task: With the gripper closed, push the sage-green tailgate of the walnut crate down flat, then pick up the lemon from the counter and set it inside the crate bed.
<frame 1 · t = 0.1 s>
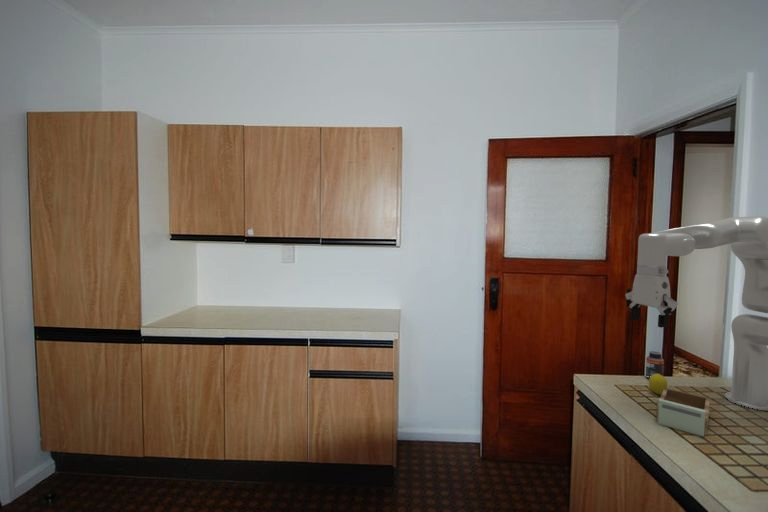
hand: (648, 323, 119), 31 cm above the counter, fingers open, 9 cm apart
crate: (683, 419, 118), on the counter
tailgate: (680, 417, 110), point 5 cm above the counter, hinge at 8.0°
lemon: (657, 394, 136), on the counter
supplement bottle: (654, 379, 150), on the counter
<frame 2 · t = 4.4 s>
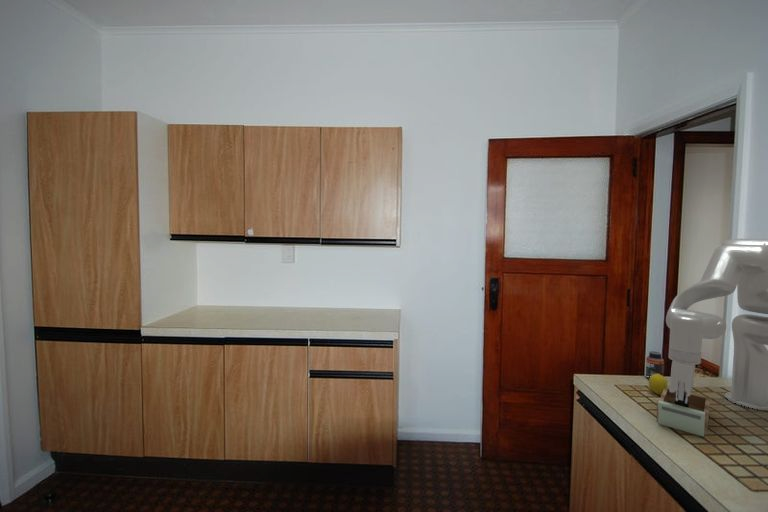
hand: (681, 413, 111), 5 cm above the counter, fingers closed
tailgate: (680, 418, 110), point 5 cm above the counter, hinge at 16.3°, touching gripper
everything else where it was.
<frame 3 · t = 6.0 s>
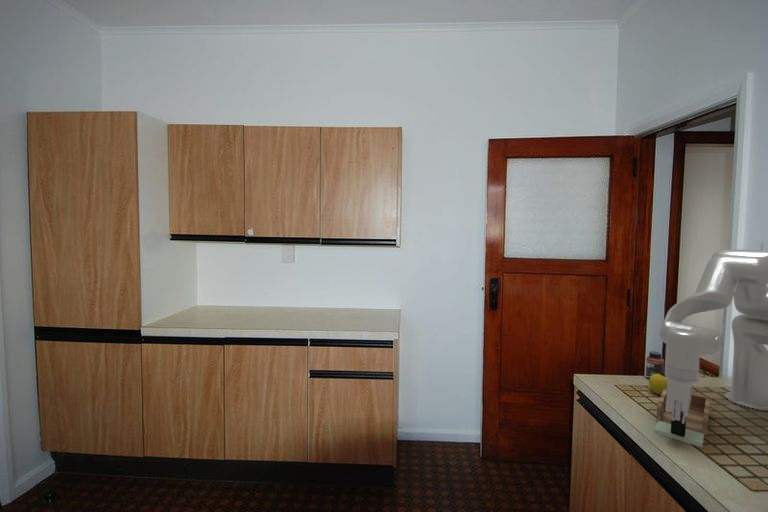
hand: (677, 434, 105), 2 cm above the counter, fingers closed
tailgate: (679, 433, 108), point 1 cm above the counter, hinge at 86.6°
everything else where it was.
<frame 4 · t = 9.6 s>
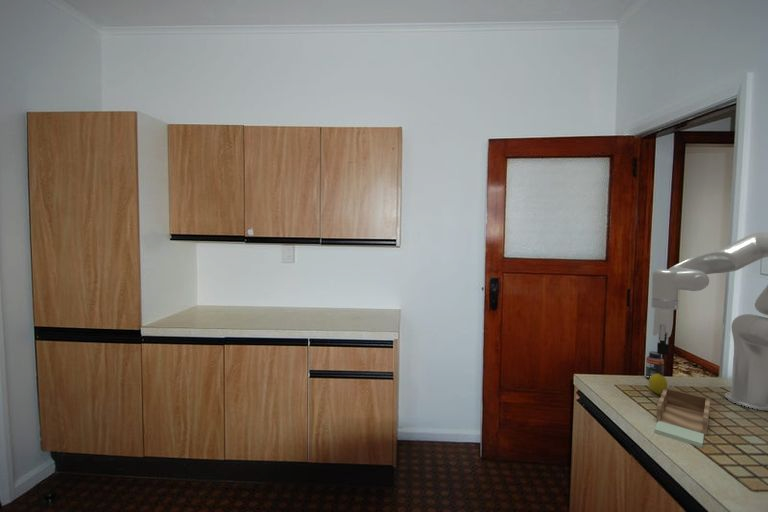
hand: (662, 353, 131), 17 cm above the counter, fingers closed
nothing on the counter moved.
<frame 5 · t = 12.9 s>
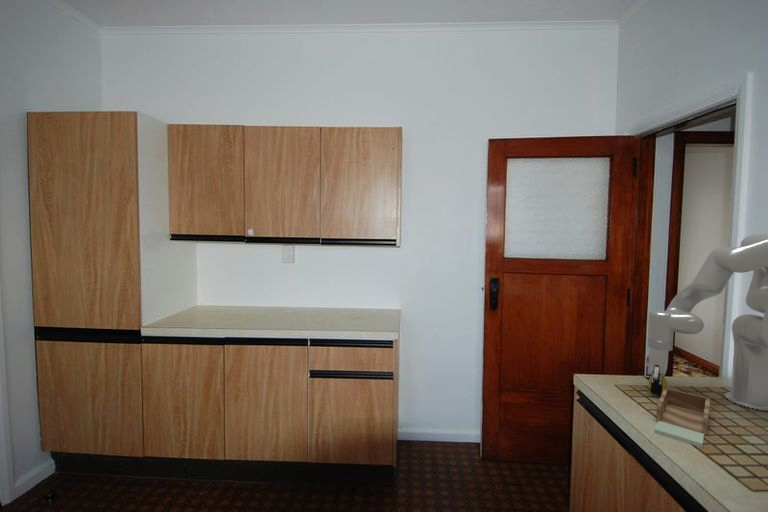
hand: (657, 390, 136), 1 cm above the counter, fingers closed on lemon, 5 cm apart
lemon: (657, 394, 136), on the counter, touching gripper
everything else where it was.
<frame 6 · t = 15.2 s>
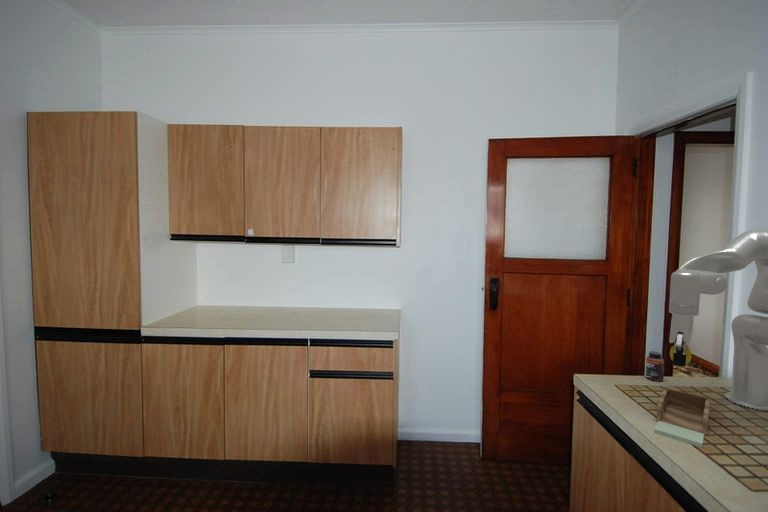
hand: (680, 362, 120), 18 cm above the counter, fingers closed on lemon, 5 cm apart
lemon: (679, 367, 120), point 16 cm above the counter, touching gripper
everything else where it was.
when the fingers open (4 cm above the counter, at t = 17.9 s): lemon drops 2 cm, resting on crate.
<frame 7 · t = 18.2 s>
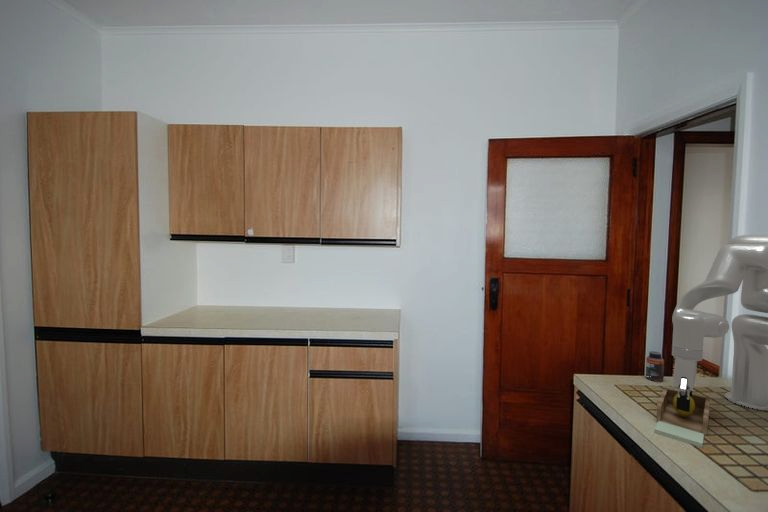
hand: (684, 405, 117), 5 cm above the counter, fingers open, 7 cm apart
lemon: (683, 417, 118), point 1 cm above the counter, touching crate
everything else where it was.
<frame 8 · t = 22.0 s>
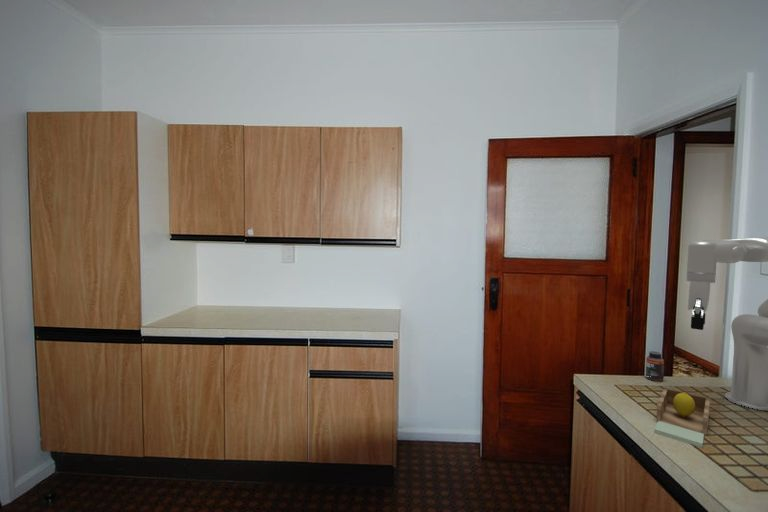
hand: (697, 326, 125), 28 cm above the counter, fingers open, 9 cm apart
nothing on the counter moved.
at the end: tailgate at +87° (first picture: +8°); lemon 0.4 cm from the crate (horizontally); lemon point 0.6 cm above the counter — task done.
